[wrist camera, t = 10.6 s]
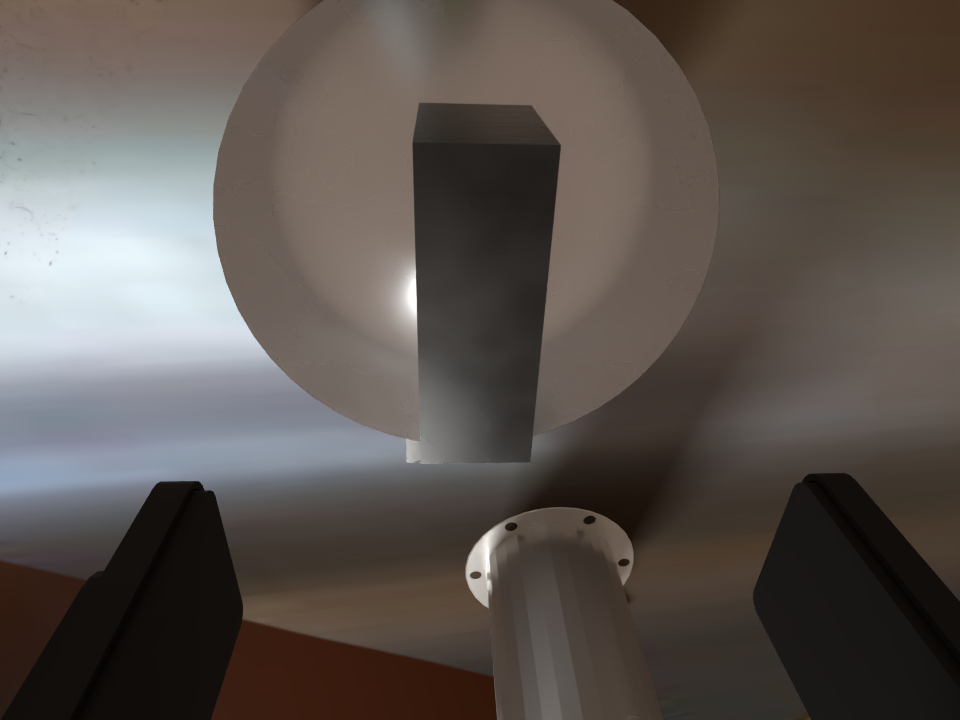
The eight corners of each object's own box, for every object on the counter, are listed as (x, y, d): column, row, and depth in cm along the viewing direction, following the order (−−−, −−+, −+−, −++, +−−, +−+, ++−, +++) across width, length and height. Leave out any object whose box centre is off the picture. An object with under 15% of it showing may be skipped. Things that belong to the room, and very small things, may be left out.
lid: (762, -31, 17) (908, -37, 12) (657, 424, 25) (714, 539, 20) (172, -55, 16) (41, -72, 11) (266, 428, 24) (218, 551, 19)
